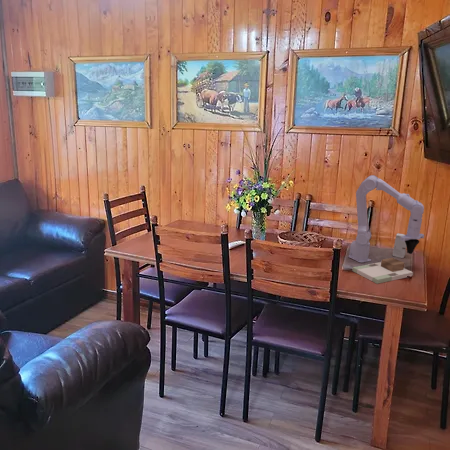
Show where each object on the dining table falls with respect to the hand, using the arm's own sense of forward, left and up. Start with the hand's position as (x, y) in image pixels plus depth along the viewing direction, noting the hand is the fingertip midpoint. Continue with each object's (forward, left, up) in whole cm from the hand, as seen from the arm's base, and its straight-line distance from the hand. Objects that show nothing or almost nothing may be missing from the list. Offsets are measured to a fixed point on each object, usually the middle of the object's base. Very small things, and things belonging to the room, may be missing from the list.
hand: (409, 253), depth 220 cm
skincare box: (-15, +10, -9) cm, 20 cm away
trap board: (0, -17, -8) cm, 19 cm away
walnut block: (0, -11, -6) cm, 13 cm away
